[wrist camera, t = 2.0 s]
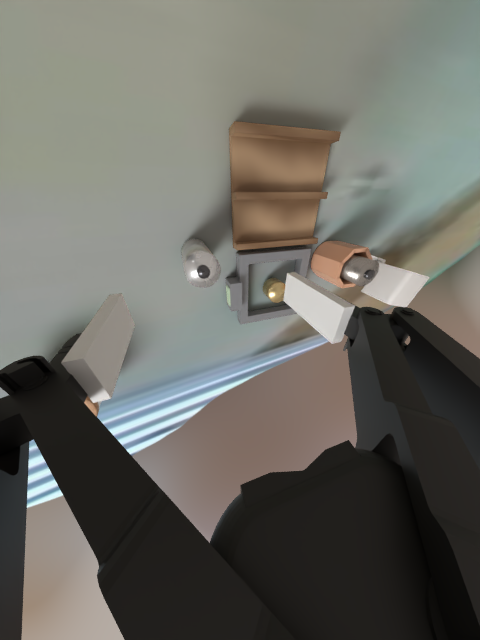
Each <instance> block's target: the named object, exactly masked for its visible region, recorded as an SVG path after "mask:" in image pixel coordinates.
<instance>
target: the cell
mask: <svg viewBox="0 0 480 640" xmlns="http://www.w3.org/2000/svg"><path fill="white" fill-rule="evenodd" d="M181 254H182V260H183V266H184V272H185V276H186V278H187V280H188V281H189V282H190V283H191V284H192V285H194V286H196V287H200V288H206V287H210V286H212V285H213V284H214V283H216V282H217V280H218V279H219V276H220V272H221V268H220V264H219V262H218V260H217V259H216V258H215V256H214V255H213V254H212V253H211V251H210V250H209V249H208V247H207V246H206V245H205V244H204V243H203V242H202V241H201V240H199V239H189V240H187V241H186V242H185V243H184V244H183V246H182V249H181Z"/></svg>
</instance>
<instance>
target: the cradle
mask: <svg viewBox="0 0 480 640" xmlns="http://www.w3.org/2000/svg"><path fill="white" fill-rule="evenodd" d="M310 254H311V248H308V247H296V248H285V249H274V250H262V251H251V252H240V253H236V266H237V277H230V278H226V293H227V304H228V306H229V308H230V310H231V311H237V310H238V321H239V323H240V324H245V323H250V322H256V321H261V320H266V319H271V318H276V317H282V316H287V315H292V314H297V312H295V311H294V310H293V309H292V308H291V307H290V306H289V305H282V306H276V307H271V308H265V309H259V310H253V311H248V265H249V264H255V263H265V262H274V261H283V260H293V259H296V264H295V270H294V272H296V273H297V274H299V275H301V276H303V277H305V278H306V274H307V269H308V264H309V259H310Z"/></svg>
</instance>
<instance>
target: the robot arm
mask: <svg viewBox="0 0 480 640" xmlns="http://www.w3.org/2000/svg"><path fill="white" fill-rule="evenodd" d="M283 301H284V302H285V303H286V304H288V305H289V306H290V307H291V308H292V309H293V310H294V311H295V312H297V313H298V314H299V315H300V316H301V317H302V318H303V319H305V320H306V321H307V322H308V323H309V324H310V325H311V326H312V327H314V328H315V329H316V330H317V331H318V332H319V333H320V334H322V335H323V336H324V337H325V338H326V339H327V340H328V341H329V342H331V343H332V344H333V343H337V342H341V341H342V339H343V336H344V334H345V335H346V336H348V339H347V342H346V344H345V347H344V349H343V350H344V351H345V350H346V349H348V358H349V367H350V375H351V385H352V394H353V402H354V411H355V419H356V428H357V443H356V447H355V448H354V447H353V446H352V444H351V443H350V441H349V440H348V441H345V442H343V443H340V444H338V445H336V446H333V447H331V448H329V449H326V450H325V451H324V452H323V453H322V454H321V455H320V456H318V458H316V459H315V461H313V462H312V463H311V464H310V465H309V466H308V467H307V468H306V469H305V470H303V471H291V472H273V473H268V474H266V475H263V476H261V477H259V478H256V479H254V480H251V481H249V482H247V483H244V484H242V485H241V494H240V495H238V496H237V497H236V498H235V499H234V500H233V502H232V503H231V504H230V505H229V506H228V508H227V509H226V510H225V512H224V513H223V515H222V517H221V518H220V520H219V522H218V524H217V526H216V529H215V531H214V533H213V535H212V538H211V541H210V543H209V542H208V541H207V540H206V539H205V538H204V536H203V535H202V534H201V533H200V532H199V531H198V530H197V529H196V528H195V526H194V525H193V524H192V523H191V522H190V521H189V520H188V519H187V517H186V516H185V515H184V514H183V513H182V512H181V511H180V510H179V508H178V507H177V506H176V505H175V504H174V503H173V502H172V501H171V499H169V497H168V496H167V495H166V494H165V493H164V492H163V491H162V490H161V489H160V488H159V487H158V485H157V484H156V483H155V482H154V481H153V480H152V479H151V478H150V477H149V475H148V474H147V473H146V472H145V471H144V470H143V469H142V468H141V467H140V465H139V464H138V463H137V462H136V461H135V460H134V459H133V457H132V456H131V455H130V454H129V453H128V452H127V451H126V449H125V448H124V447H123V446H122V445H121V444H120V443H119V442H118V440H117V439H116V438H115V437H114V436H113V435H112V434H111V433H110V431H109V430H108V429H107V428H106V427H105V426H104V425H103V424H102V422H101V421H100V420H99V419H98V418H97V417H96V416H95V415H94V413H93V412H92V411H91V410H90V409H89V408H88V407H87V406H86V404H85V403H84V402H85V400H86V398H87V396H88V397H89V398H90V400H91V401H92V402H93V403H95V402H99V401H103V400H107V399H111V397H112V394H113V391H114V388H115V385H116V382H117V379H118V376H119V373H120V370H121V367H122V364H123V361H124V358H125V354H126V351H127V348H128V345H129V342H130V339H131V336H132V333H133V330H134V327H135V324H134V322H133V319H132V317H131V314H130V312H129V309H128V307H127V305H126V302H125V300H124V297H123V295H122V293H121V294H113V295H109V296H108V298H107V299H106V301H105V302H104V303H103V305H102V306H101V308H100V309H99V310H98V312H97V313H96V315H95V316H94V317H93V319H92V320H91V321H90V323H89V324H88V326H87V327H86V328H85V330H84V331H83V333H81V334H76V335H75V336H73V337H72V338H70V339H69V340H68V341H67V342H66V343H65V344H64V346H63V347H62V349H61V350H60V351H59V352H58V354H57V355H56V356H55V357H54V358H53V360H52V361H51V362H50V364H49V363H48V361H47V360H46V359H45V358H44V357H42V356H31V357H27V358H23V359H21V360H18V361H15V362H14V363H12V364H10V365H8V366H6V367H5V368H3V369H2V370H0V387H1V388H2V389H3V390H4V391H6V392H7V393H8V394H9V395H8V396H6V397H3V398H0V640H21V634H22V608H23V584H24V557H25V534H26V533H25V531H26V509H27V484H28V459H29V441H31V440H33V439H34V441H35V443H36V444H37V446H38V448H39V450H40V452H41V454H42V456H43V458H44V460H45V461H46V463H47V465H48V467H49V469H50V471H51V473H52V475H53V476H54V478H55V480H56V482H57V484H58V486H59V488H60V490H61V492H62V493H63V495H64V497H65V499H66V501H67V503H68V505H69V507H70V508H71V510H72V512H73V514H74V516H75V518H76V520H77V522H78V524H79V526H80V527H81V529H82V531H83V533H84V535H85V537H86V539H87V541H88V542H89V544H90V546H91V548H92V550H93V552H94V554H95V556H96V558H97V560H98V563H99V570H98V574H97V578H98V583H99V587H100V589H101V592H102V594H103V597H104V599H105V601H106V603H107V605H108V607H109V609H110V611H111V613H112V615H113V617H114V619H115V621H116V623H117V625H118V627H119V629H120V631H121V633H122V635H123V637H124V639H125V640H480V359H479V358H478V357H476V356H475V355H474V354H473V353H471V352H470V351H469V350H467V349H466V348H465V347H463V346H462V345H461V344H459V343H458V342H457V341H455V340H454V339H453V338H451V337H450V336H449V335H447V334H446V333H445V332H444V331H442V330H441V329H440V328H438V327H437V326H436V325H434V324H433V323H432V322H430V321H429V320H428V319H427V318H425V317H424V316H423V315H421V314H420V313H418V312H417V311H415V310H412V309H411V308H407V307H396V308H394V310H393V312H392V314H384V313H383V312H382V311H380V310H378V309H375V308H371V307H362V308H359V307H357V306H355V305H353V304H352V303H350V302H348V301H346V300H344V299H343V298H341V297H339V296H337V295H335V294H333V293H331V292H330V291H328V290H326V289H324V288H322V287H321V286H319V285H317V284H315V283H313V282H312V281H310V280H308V279H306V278H305V277H303V276H301V275H299V274H297V273H296V272H291V273H287V278H286V285H285V293H284V300H283ZM408 336H410V339H411V340H410V343H409V344H408V345H406V344H405V343H404V342H405V341H406V339H407V338H408Z"/></svg>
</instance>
